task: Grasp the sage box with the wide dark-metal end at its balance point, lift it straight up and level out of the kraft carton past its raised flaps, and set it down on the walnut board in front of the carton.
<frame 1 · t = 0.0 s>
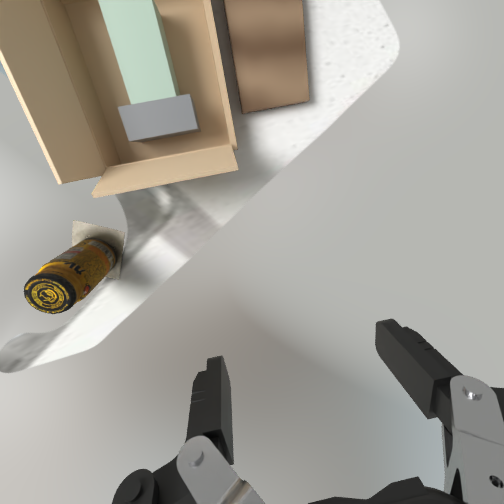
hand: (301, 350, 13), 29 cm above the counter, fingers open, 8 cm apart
condiment: (98, 250, 40), on the counter
carton: (158, 84, 32), on the counter
board: (266, 45, 32), on the counter
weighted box: (158, 88, 31), point 1 cm above the counter, touching carton
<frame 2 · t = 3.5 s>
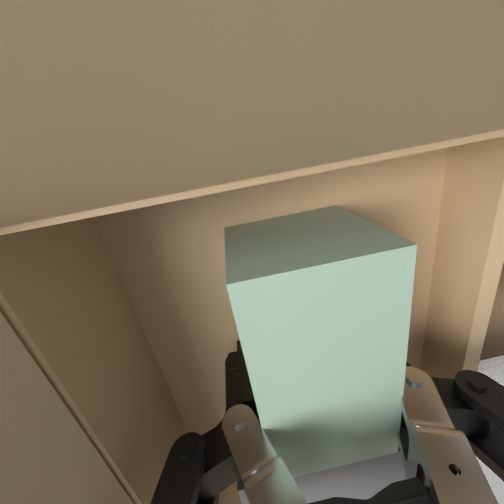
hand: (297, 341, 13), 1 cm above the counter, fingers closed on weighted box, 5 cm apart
carton: (290, 317, 14), on the counter
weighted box: (296, 337, 14), point 1 cm above the counter, touching carton, gripper
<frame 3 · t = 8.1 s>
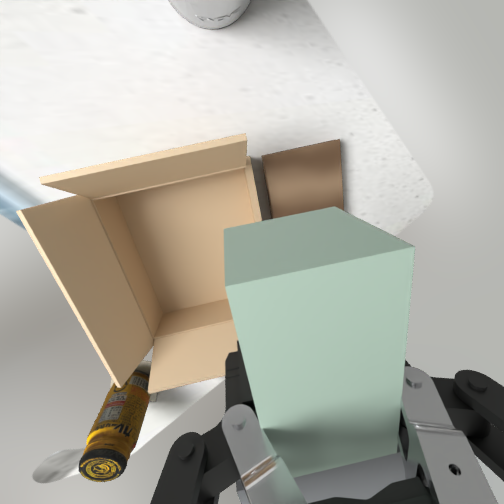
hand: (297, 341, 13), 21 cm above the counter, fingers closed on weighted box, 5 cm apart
condiment: (136, 378, 40), on the counter
carton: (199, 243, 33), on the counter
board: (304, 204, 33), on the counter
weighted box: (295, 338, 14), point 21 cm above the counter, touching gripper
when the fingers open (3 cm above the counter, at t = 12.6 s): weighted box drops 1 cm, resting on board.
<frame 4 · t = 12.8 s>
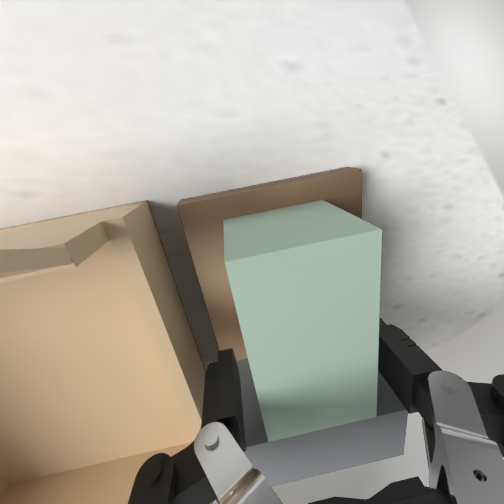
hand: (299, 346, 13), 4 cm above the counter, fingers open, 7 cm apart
carton: (67, 366, 16), on the counter
board: (281, 294, 16), on the counter
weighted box: (289, 321, 15), point 1 cm above the counter, touching board
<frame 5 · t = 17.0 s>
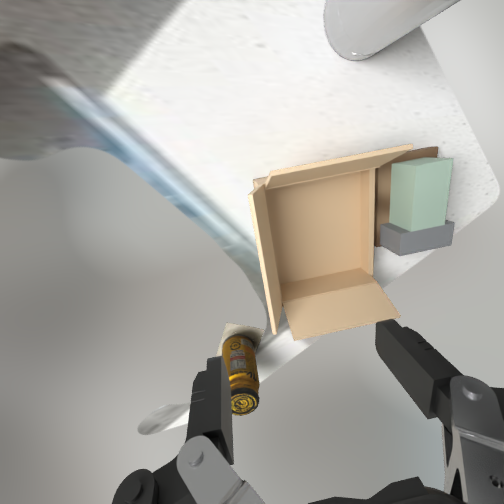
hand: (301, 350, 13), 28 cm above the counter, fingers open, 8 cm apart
condiment: (239, 342, 48), on the counter
carton: (312, 228, 41), on the counter
board: (399, 198, 40), on the counter
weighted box: (405, 206, 39), point 1 cm above the counter, touching board
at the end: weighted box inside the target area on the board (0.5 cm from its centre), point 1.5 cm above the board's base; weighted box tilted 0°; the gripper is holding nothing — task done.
